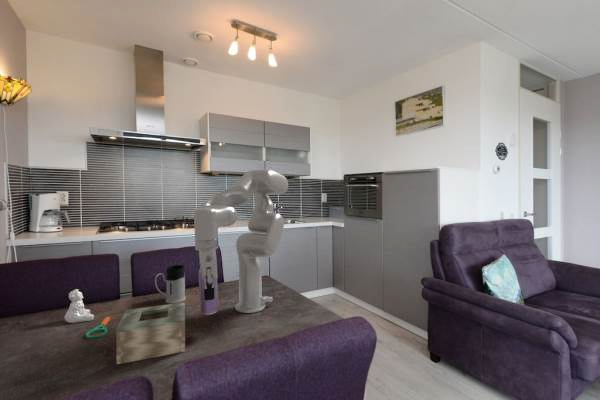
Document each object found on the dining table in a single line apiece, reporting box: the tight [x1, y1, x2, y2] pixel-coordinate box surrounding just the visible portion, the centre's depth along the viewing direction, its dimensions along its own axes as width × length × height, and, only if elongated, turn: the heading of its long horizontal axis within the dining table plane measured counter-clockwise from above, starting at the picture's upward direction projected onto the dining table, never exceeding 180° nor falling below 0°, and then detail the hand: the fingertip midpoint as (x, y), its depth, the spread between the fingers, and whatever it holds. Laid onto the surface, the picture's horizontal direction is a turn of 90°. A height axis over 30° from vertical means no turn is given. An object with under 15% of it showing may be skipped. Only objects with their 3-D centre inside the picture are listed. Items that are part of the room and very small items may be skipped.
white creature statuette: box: [63, 288, 95, 324], centre depth 112 cm, size 10×9×12 cm
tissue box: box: [115, 301, 186, 365], centre depth 92 cm, size 18×15×10 cm
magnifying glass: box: [85, 316, 111, 340], centre depth 104 cm, size 15×6×2 cm, turn 18°
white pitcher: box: [154, 264, 187, 304], centre depth 131 cm, size 9×14×15 cm, turn 148°
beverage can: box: [198, 268, 219, 316], centre depth 100 cm, size 6×6×15 cm
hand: (208, 295), depth 99 cm, fingers closed on beverage can, 5 cm apart
